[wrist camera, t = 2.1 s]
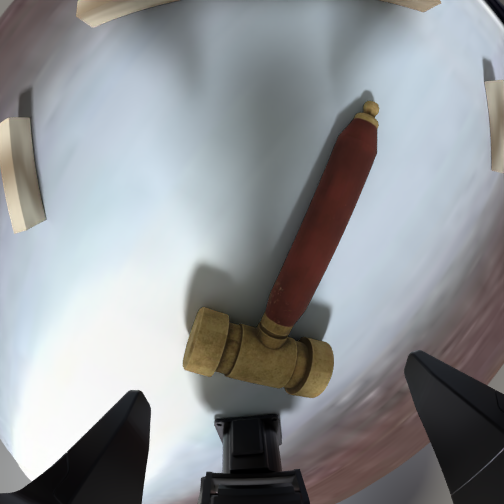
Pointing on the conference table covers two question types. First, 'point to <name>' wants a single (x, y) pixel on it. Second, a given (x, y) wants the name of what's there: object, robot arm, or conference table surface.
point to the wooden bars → (112, 7)
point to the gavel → (292, 284)
